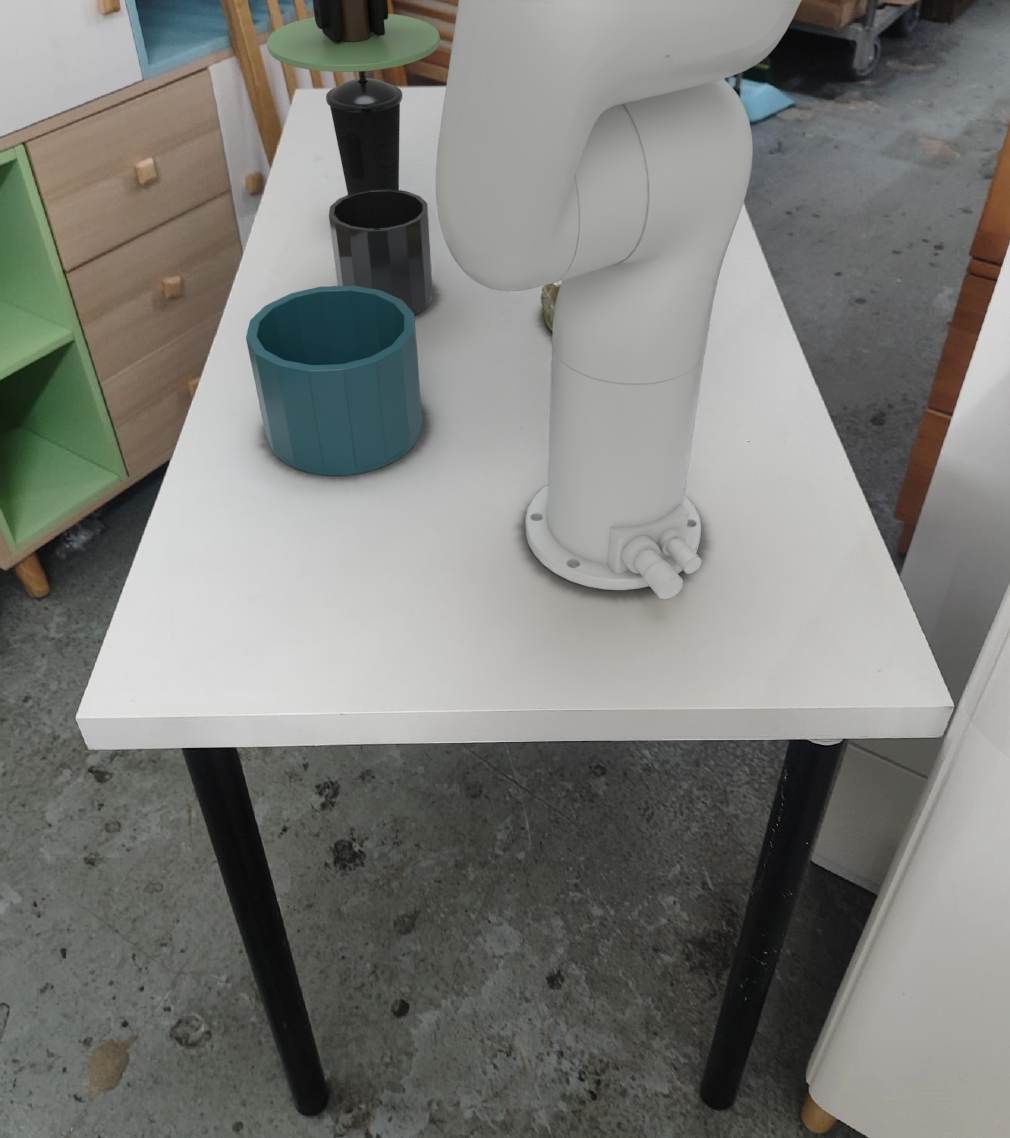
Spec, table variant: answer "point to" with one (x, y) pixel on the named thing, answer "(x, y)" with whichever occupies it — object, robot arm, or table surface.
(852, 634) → the table surface
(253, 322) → the tin
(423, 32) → the lid
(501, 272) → the robot arm
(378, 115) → the drinking cup
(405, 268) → the cup
